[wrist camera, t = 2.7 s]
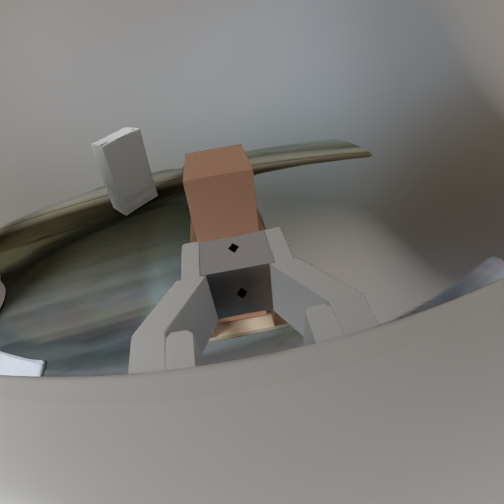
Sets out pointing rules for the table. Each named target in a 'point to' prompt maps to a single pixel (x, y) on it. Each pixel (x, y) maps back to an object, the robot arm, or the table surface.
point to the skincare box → (125, 169)
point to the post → (221, 197)
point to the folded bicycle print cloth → (20, 366)
